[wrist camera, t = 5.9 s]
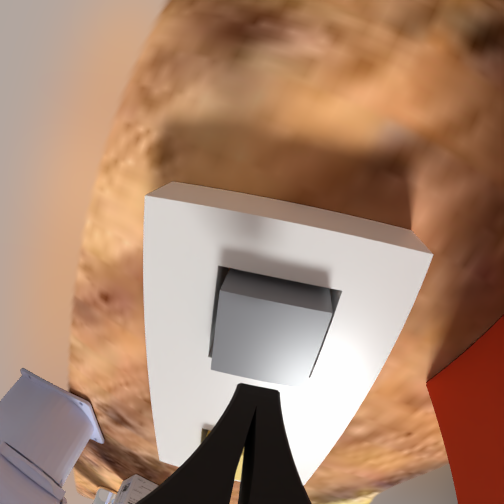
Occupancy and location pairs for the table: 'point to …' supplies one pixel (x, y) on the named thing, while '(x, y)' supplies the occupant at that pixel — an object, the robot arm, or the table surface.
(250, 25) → the table surface
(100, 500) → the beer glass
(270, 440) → the robot arm
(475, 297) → the table surface
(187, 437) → the board
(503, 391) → the file binder
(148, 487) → the light bulb box
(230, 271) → the graphite key
